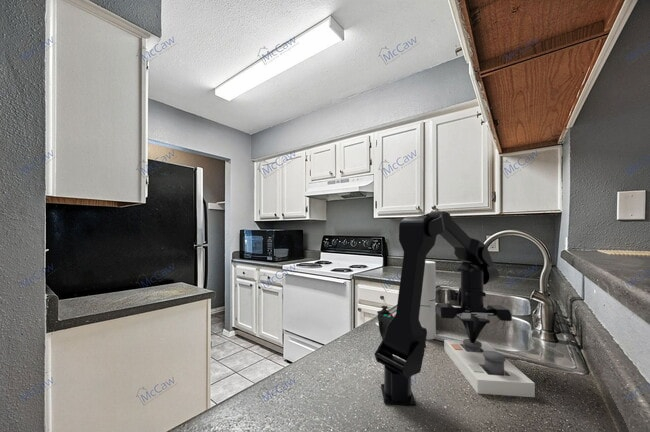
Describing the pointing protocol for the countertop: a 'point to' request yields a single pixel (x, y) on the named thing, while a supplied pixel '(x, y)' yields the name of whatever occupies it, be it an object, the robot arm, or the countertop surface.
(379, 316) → the controller
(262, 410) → the countertop surface
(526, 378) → the panel
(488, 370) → the near button
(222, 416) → the countertop surface
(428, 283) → the cylindrical container
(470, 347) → the far button
